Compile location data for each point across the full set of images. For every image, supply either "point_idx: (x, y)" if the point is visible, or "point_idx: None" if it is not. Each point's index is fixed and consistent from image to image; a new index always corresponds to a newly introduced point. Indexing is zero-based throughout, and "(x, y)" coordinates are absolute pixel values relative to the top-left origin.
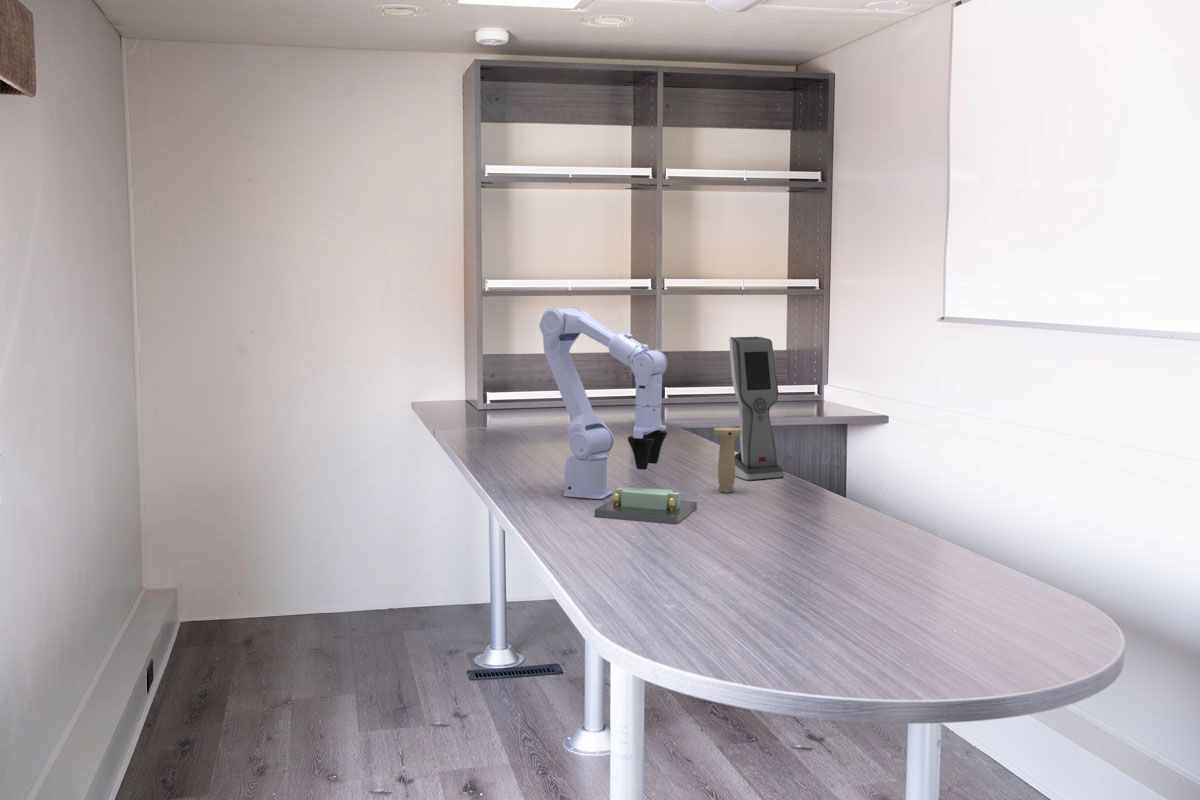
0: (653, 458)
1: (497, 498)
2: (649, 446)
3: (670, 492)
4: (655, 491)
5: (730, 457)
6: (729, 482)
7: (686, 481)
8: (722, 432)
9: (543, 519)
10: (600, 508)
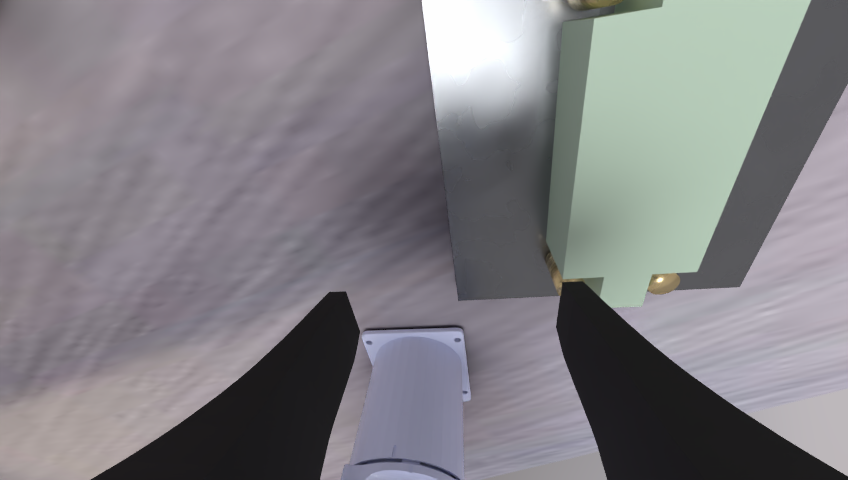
0: (341, 331)
1: (541, 461)
2: (832, 470)
3: (685, 4)
4: (661, 123)
5: None
6: None
7: (28, 220)
8: None
9: (771, 360)
10: (712, 278)
